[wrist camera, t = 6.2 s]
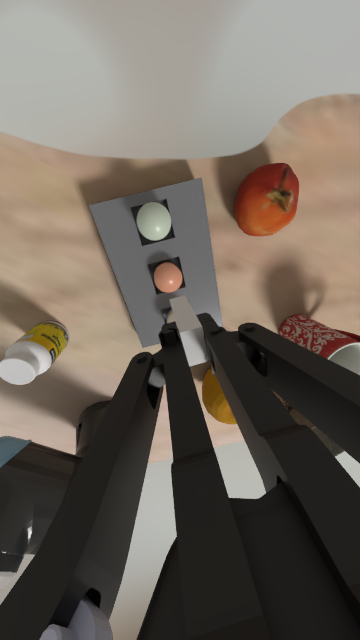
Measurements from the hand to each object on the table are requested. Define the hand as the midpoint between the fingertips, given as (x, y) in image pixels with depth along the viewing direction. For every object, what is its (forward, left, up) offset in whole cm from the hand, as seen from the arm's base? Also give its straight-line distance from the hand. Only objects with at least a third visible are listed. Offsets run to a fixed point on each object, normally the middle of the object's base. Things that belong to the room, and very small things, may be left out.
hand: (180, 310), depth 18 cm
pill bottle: (-24, -6, -19) cm, 31 cm away
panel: (0, 0, -18) cm, 18 cm away
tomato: (+17, +7, -19) cm, 26 cm away
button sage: (0, +8, -15) cm, 17 cm away
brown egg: (0, 0, -17) cm, 17 cm away
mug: (+27, -20, -19) cm, 38 cm away
